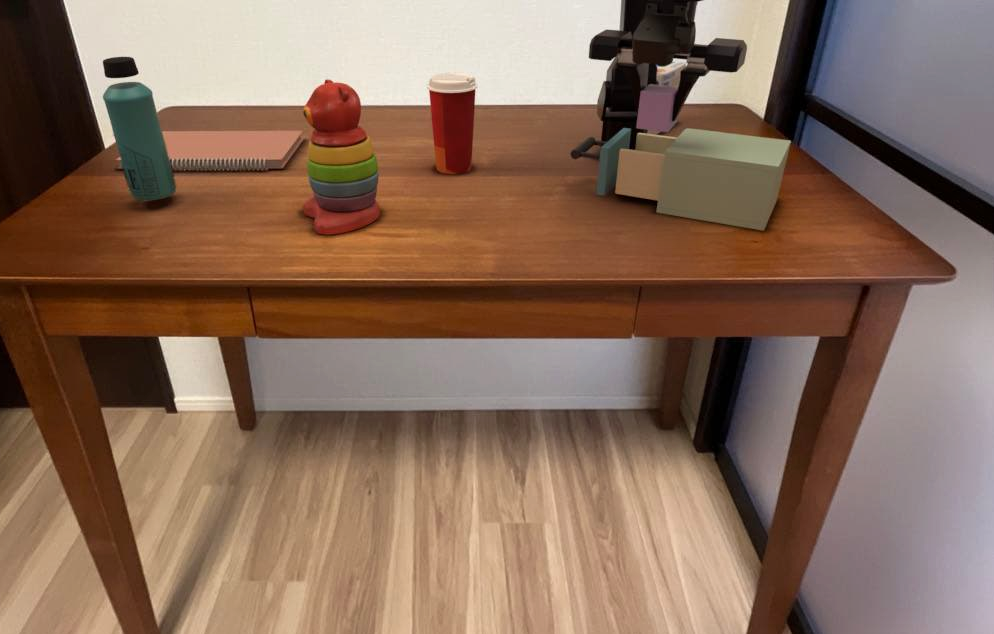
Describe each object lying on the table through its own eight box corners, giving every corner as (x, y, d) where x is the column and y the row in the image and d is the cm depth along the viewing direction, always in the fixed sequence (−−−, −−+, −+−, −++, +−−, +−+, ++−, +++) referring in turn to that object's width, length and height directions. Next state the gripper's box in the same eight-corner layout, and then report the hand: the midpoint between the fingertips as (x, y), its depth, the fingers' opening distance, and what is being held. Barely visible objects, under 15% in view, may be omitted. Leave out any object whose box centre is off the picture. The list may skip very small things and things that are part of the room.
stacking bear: (300, 209, 101) (281, 78, 92) (368, 197, 105) (357, 70, 95) (318, 237, 93) (300, 97, 83) (392, 224, 96) (382, 87, 87)
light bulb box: (644, 117, 138) (652, 58, 132) (678, 122, 134) (687, 62, 128) (620, 131, 131) (627, 69, 125) (655, 137, 127) (664, 73, 121)
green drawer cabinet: (656, 212, 98) (665, 150, 94) (677, 185, 107) (686, 127, 102) (763, 231, 93) (778, 166, 88) (776, 201, 101) (791, 140, 97)
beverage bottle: (189, 197, 106) (155, 53, 95) (159, 213, 101) (120, 64, 90) (153, 192, 108) (116, 51, 97) (122, 208, 103) (79, 61, 92)
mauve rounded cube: (636, 128, 95) (640, 91, 93) (644, 120, 98) (649, 83, 96) (667, 132, 94) (673, 94, 91) (675, 123, 97) (681, 87, 94)
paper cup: (485, 164, 116) (485, 74, 109) (465, 179, 111) (464, 85, 103) (442, 158, 119) (439, 70, 112) (420, 172, 113) (416, 80, 106)
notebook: (115, 172, 116) (111, 160, 115) (156, 140, 130) (153, 129, 129) (281, 172, 115) (279, 159, 113) (304, 140, 129) (302, 129, 128)
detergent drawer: (564, 189, 104) (567, 142, 100) (588, 167, 112) (591, 123, 108) (688, 209, 97) (696, 160, 93) (704, 185, 104) (713, 138, 101)
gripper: (578, -7, 85) (569, 126, 93) (742, 3, 77) (715, 145, 86) (608, -19, 93) (597, 104, 101) (759, -11, 85) (733, 121, 94)
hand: (656, 118), depth 95 cm, fingers closed on mauve rounded cube, 4 cm apart
